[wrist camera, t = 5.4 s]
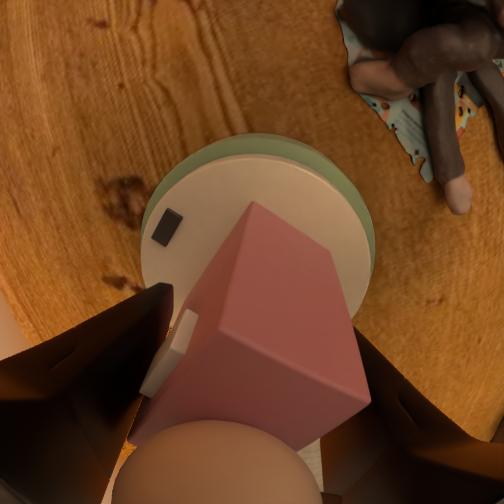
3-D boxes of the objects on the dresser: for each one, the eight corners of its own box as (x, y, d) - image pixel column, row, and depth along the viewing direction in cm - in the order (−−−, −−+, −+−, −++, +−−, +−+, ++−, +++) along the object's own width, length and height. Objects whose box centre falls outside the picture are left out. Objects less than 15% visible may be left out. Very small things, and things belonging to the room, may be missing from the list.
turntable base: (317, 343, 16) (320, 370, 14) (145, 294, 15) (131, 318, 14) (395, 176, 12) (413, 189, 10) (180, 108, 12) (163, 109, 10)
